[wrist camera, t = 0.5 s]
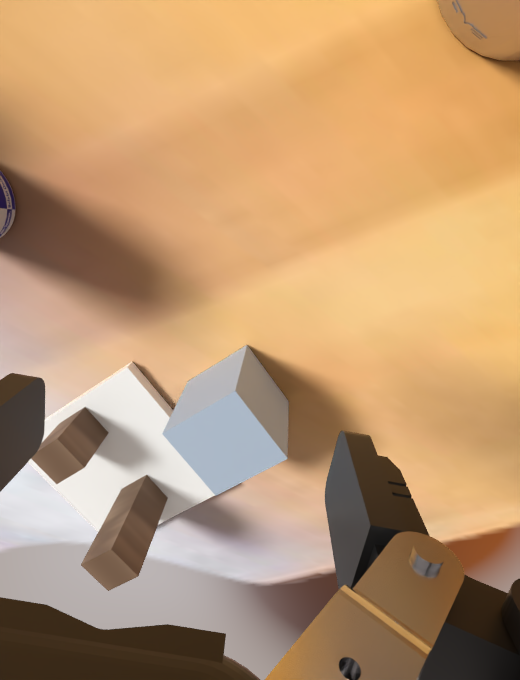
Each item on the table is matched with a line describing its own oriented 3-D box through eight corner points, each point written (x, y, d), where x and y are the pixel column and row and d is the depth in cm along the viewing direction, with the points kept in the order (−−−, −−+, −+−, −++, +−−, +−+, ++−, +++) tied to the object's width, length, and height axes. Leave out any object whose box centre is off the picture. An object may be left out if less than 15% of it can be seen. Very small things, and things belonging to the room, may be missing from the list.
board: (132, 361, 31) (127, 367, 30) (230, 479, 34) (229, 487, 33) (17, 436, 34) (10, 444, 33) (117, 538, 37) (113, 547, 36)
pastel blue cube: (247, 344, 30) (235, 390, 24) (288, 401, 31) (287, 458, 25) (187, 381, 31) (161, 433, 25) (230, 433, 33) (215, 495, 26)
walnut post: (146, 474, 33) (111, 549, 27) (167, 497, 34) (138, 576, 27) (121, 488, 34) (81, 565, 27) (142, 511, 35) (108, 590, 28)
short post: (85, 406, 31) (57, 438, 28) (108, 432, 32) (84, 467, 28) (59, 423, 32) (29, 456, 28) (83, 448, 33) (56, 484, 29)
